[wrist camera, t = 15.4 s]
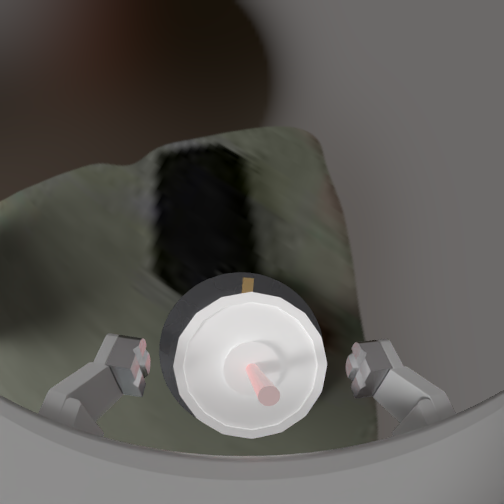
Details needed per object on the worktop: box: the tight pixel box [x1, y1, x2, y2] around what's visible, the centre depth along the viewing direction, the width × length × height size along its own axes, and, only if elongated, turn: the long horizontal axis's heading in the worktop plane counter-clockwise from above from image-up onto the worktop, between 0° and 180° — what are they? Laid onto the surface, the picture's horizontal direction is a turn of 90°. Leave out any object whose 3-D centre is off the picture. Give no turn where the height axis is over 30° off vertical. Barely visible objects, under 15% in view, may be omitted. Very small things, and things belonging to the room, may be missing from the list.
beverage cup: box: [173, 292, 327, 439], centre depth 12 cm, size 6×6×14 cm
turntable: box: [159, 272, 324, 417], centre depth 20 cm, size 12×12×3 cm
